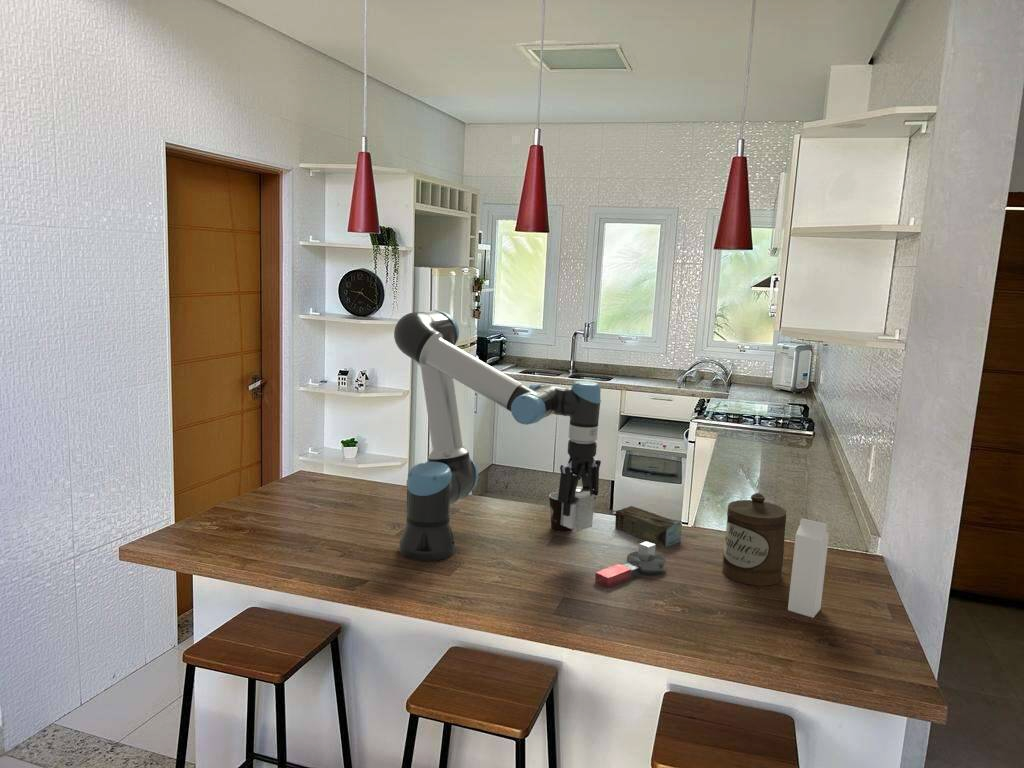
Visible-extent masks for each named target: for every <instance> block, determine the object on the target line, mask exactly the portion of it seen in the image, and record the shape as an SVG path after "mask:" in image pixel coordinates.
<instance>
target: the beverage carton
mask: <svg viewBox="0 0 1024 768" xmlns="http://www.w3.org/2000/svg"><path fill="white" fill-rule="evenodd" d="M682 526H683V524H682V522H678V521H677V520H676V521H675V520H674V519H673V520H672V519H670V518H667V517H664V516H662V515H659V514H656V513H653V512H650V511H648V510H645V509H642V508H639V507H636V506H634V505H631V506H628V507H624V508H621V509H618V510H616V511H615V526H614V528H615V530H617V529H618V531H620V530H621V531H620V532H622V531H623V533H625V532H626V534H628V535H631V536H633V535H634V537H636V538H639V539H641V538H642V540H644V539H645V540H644V541H647V542H649V541H650V543H652V542H653V543H652V544H655V543H656V544H655V545H658V544H659V545H658V546H661V545H662V547H663V546H664V548H668V547H670V546H672V545H675V544H678V543H681V542H682V540H681V539H682V528H683V527H682ZM667 546H668V547H667Z"/></svg>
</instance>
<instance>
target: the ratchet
mask: <svg viewBox="0 0 1024 768" xmlns="http://www.w3.org/2000/svg"><path fill="white" fill-rule="evenodd" d="M666 562H667V561H666V558H665V557H664V556H662V555H660V554H659V553H656V544H655V543H652V542H649V541H647V540H645V541H643V542H641V543H639V544H638V551H633V552H630V553H629V554H627V557H626V563H624V564H619V563H617V564H614V565H612V566H609V567H606V568H603V569H602V570H599V571H596V572H595V575H594V583H595V584H598V585H600V586H603V587H604V588H607V589H608V588H611V587H615V586H616V585H619V584H621V583H624V582H626V581H629V580H631V579H632V578H634V577H637V576H639V575H643V576H657V575H661V574H663V573H665V570H666Z"/></svg>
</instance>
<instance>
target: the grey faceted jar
mask: <svg viewBox="0 0 1024 768" xmlns="http://www.w3.org/2000/svg"><path fill="white" fill-rule="evenodd" d="M594 497H596V495H595V494H592V493H590V490H589V489H588V488H585V487H583V486H578V485H577V487H576V491H575V494H574V498H573V502H572V504H574V514H573V527H572V528H571V529H572V530H571V531H575V532H579V531H583V530H587V529H589V528H592V527H593V518H594V508H595V507H594V506H595V500H594ZM563 505H564V504H563V503H562V510H561V523H560V525H563V520H564V515H563ZM567 528H568V527H567Z"/></svg>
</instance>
